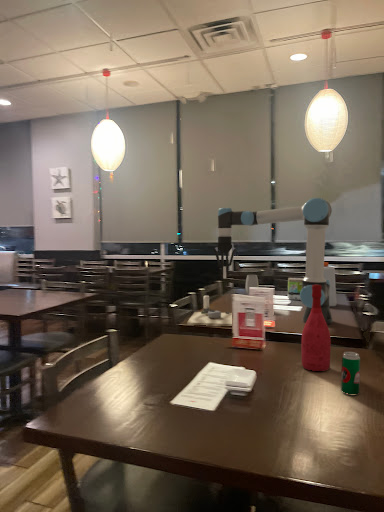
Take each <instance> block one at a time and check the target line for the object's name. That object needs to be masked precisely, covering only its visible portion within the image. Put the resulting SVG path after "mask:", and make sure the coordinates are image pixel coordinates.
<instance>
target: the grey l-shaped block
mask: <svg viewBox="0 0 384 512" xmlns="http://www.w3.org/2000/svg"><path fill="white" fill-rule="evenodd" d="M203 311H204V312H206V313H208V317H209V318H214V319H216V318H221V313H222V311H220V310H215V309H211V308H210V296H209V295H203Z"/></svg>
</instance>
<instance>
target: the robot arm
mask: <svg viewBox="0 0 384 512" xmlns="http://www.w3.org/2000/svg"><path fill="white" fill-rule="evenodd" d="M332 209H333V208H332V206H331V204H330V203H329V202H328V200H325V199H324V198H321V197H313V198H309V199H308V200H307V201H306V202H305V203H304V204H303V205H301V206H300V205H299V206H292V207H284V208H275V209H266V210H259V211H251V210H240V211H239V210H238V211H232V208H230V207H221V208H220V207H219V208H218V210H217V235H218V237H217V246H216V247H214V248H213V250H212V251H214V254H215V258H216V262H217V265H218V266H219V267H220V271H221V273H223V274H222V278H223V279H226V280H227V273H228V272H229V267H230V266H232V264H233V259H234V255H235V252H237V248H235V247H233V243H232V240H233V237H232V233H233V232H232V230H233V229H232V227H233V226H249V227H251V226H256V225H258V226H259V225H267V224H277V223H288V222H297V221H303V223H304V224H303V226H304V227H305V229H306V250H305V251H306V253H305V276H304V277H302V278H303V279H302V290H301V292H300V299H301V300H300V301H301V303H302V304H303V305H304V306H306V307H305V309H304V312H303V314H302V315H303V316H302V322H304V323H306V321H307V319H308V317H309V315H310V313H311V309H312V302H313V297H312V285H314V284H319V285H321V286H322V289H321V295H322V296H321V298H320V299H321V310H322V314H323V316H324V319H325V321H326V323H327V325H331V324H332V323H333V321H334V320H333V319H334V318H333V315H332V313H331V310H330V307H329V295H330V282H329V280H325V279H324V277H323V274H324V262H325V248H326V247H325V245H326V229H327V228H328V227H329V226H330V225H329V224H330V217H331V215H332V212H333V210H332ZM218 251H219V252H220V257H221V258H220V257H219V253H218ZM230 251H231V255H230V259H229V252H230ZM224 255H225V257H224ZM224 260H225V261H224ZM224 263H225V264H224ZM224 265H225V266H224Z"/></svg>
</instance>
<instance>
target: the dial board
mask: <svg viewBox="0 0 384 512" xmlns="http://www.w3.org/2000/svg"><path fill="white" fill-rule="evenodd" d="M232 313H233V312H229V311H225V312H221V318H216V319H214V318H209V317H208V313H206V312H204V310H202V311H194V312H193V313H192V315H191V316H190V317H189V319H188V321H187V322H186V326H194V325H206V326H205V327H221V326H232Z"/></svg>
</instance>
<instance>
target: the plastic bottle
mask: <svg viewBox="0 0 384 512" xmlns="http://www.w3.org/2000/svg"><path fill="white" fill-rule="evenodd" d="M335 270H336V269H335V267H333V266H329V261H328V262H325V261H324V274H323V277H324V279H325V280H329V282H330V295H329V308H330V307H331V308H332V307H336V306H337V290H336V289H337V288H336V271H335Z"/></svg>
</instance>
